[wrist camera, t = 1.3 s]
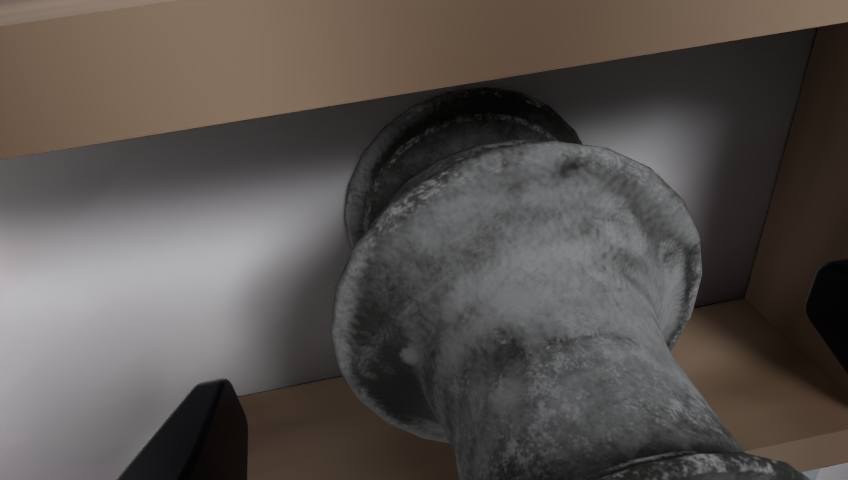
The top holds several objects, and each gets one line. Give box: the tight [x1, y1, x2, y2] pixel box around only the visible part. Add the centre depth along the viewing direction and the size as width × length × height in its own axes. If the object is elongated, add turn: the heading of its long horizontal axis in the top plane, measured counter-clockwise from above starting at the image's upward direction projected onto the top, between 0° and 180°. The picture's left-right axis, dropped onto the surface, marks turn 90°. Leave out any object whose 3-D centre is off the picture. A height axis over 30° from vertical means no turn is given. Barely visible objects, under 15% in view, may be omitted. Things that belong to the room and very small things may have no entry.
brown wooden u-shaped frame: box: [0, 0, 848, 480], centre depth 10 cm, size 15×10×4 cm
